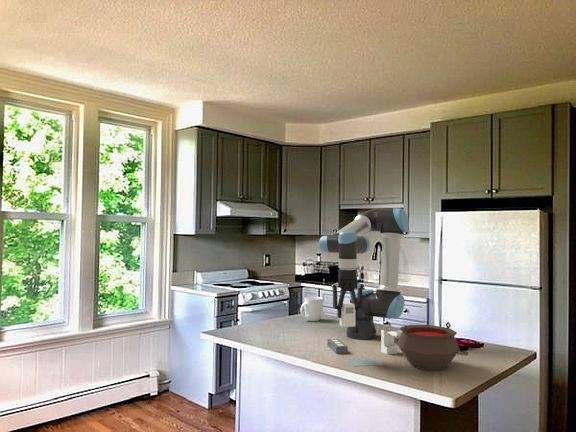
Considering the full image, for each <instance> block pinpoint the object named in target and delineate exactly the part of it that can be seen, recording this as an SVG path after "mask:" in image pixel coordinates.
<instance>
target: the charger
mask: <svg viewBox="0 0 576 432" xmlns="http://www.w3.org/2000/svg"><path fill="white" fill-rule="evenodd" d="M342 310H343V326H342V327H344V328H348V327H355V304H352V303H350V302H343V305H342Z"/></svg>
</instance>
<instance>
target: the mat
mask: <svg viewBox="0 0 576 432" xmlns="http://www.w3.org/2000/svg"><path fill="white" fill-rule="evenodd" d="M346 361H347V362H348V363H350V364H351V366H353V367H369V366H384V364H383V362H381V361H379V360H378V359H377V358H357V359H356V358H353V359H351V358H350V359H346Z"/></svg>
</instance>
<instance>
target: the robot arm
mask: <svg viewBox="0 0 576 432" xmlns="http://www.w3.org/2000/svg"><path fill="white" fill-rule="evenodd" d="M409 227H410V223H409V217H408V214H407V212H406V210H404V209H403V208H397V207H393V208H392V207H391V208H373V209H369V210H367V211H364V212H362V213H360V214H359V215H357V216H355V218H354V219H353V221H352V222H350V223H348V224H347V225H345V226H344V227H342V228H340V229H339V230H338V231H336V232H334V233H333V234H331V235H323V236H321V237H320V239H319V240H318V242H319V243H318V247H319V249H320V251H321V252H323V253H328V254H330V253H331V254H332V253H333V254H335V253H336V254H338V268H339V269H338V280H337V282H336V283H332V284H331V289H332V307H333V309H336V310H337V314H336V315H337V318H338V319H339V326H340V327H344V326H343V310H342V305H343V303H344V300H345V296H346V293H347V292H349V294H350V295H349V303H352V304H355V327H346V333H345V334H346V337H347V338H351V339H354V340H355V339H356V340H358V339H359V340H370V339H371V340H372V339H376V338H377V336H378V332H377V328H376V325H375V322H374V318H384V319H388V320H390V319H392V320H397V319H399V318H400V317H401V315H402V314H403V312H404V309H405V297H404V295H402V294H401V290H400V289H399V287H398V286H399V270H400V269H399V268H400V255H401V254H400V253H401V252H400V251H401V239H402V238H403V237H405V233H406V232H408V230H409ZM369 232H379V235H380V236H381V238H382V243H381V247H382V248H381V259H380V260H381V261H380V275H379V276H380V278H379V286H378V287H377V288H375V289H376V291H375V292H374V289H373V288H368V289H367V288H366V289H364V285H365V284H363V283H359V282H358V279H357V278H358V272H357V268H358V264H357V263H358V261H357V258H358V257H357V256H358V254H366V253H367V252H369V250H370V249H371V240H370V239H369V238H368V237H366V236H363V234H367V233H369ZM338 288H339V289H340V291H339V293H340V294H339V298H338ZM356 288H357V290H355V289H356Z"/></svg>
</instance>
